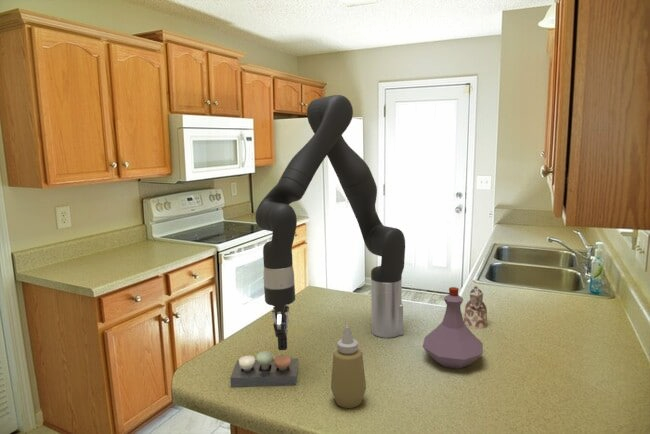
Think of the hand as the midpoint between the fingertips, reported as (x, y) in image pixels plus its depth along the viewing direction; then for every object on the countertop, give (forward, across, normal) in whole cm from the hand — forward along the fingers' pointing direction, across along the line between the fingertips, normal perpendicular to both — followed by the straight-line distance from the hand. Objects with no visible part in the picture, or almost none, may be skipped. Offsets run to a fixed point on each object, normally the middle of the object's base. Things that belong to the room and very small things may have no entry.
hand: (282, 348), depth 113 cm
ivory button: (+7, 0, +9) cm, 11 cm away
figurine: (+8, +29, -59) cm, 66 cm away
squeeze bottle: (+8, -12, -16) cm, 21 cm away
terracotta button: (+7, 0, 0) cm, 7 cm away
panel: (+7, 0, +5) cm, 9 cm away
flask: (+8, +6, -45) cm, 46 cm away
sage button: (+5, 0, +5) cm, 7 cm away
